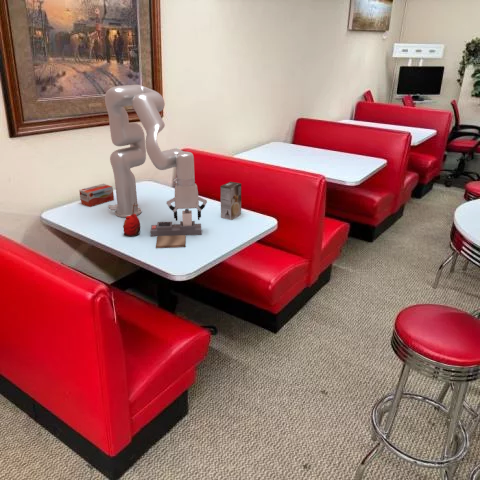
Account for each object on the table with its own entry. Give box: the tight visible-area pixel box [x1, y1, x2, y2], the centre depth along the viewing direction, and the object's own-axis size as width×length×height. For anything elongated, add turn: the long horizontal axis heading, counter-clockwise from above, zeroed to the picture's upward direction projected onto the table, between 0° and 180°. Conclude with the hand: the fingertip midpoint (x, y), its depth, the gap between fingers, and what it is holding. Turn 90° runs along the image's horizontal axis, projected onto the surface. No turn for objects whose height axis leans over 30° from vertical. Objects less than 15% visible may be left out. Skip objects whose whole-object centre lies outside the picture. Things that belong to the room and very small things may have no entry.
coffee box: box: [219, 181, 242, 221], centre depth 207 cm, size 9×6×16 cm
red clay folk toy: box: [122, 203, 141, 237], centre depth 186 cm, size 8×7×15 cm
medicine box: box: [78, 183, 115, 208], centre depth 225 cm, size 15×8×8 cm, turn 141°
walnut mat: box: [155, 235, 187, 249], centre depth 182 cm, size 12×10×1 cm
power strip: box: [149, 220, 202, 238], centre depth 191 cm, size 22×7×4 cm, turn 96°
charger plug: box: [181, 209, 193, 226], centre depth 189 cm, size 4×4×8 cm
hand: (187, 219), depth 189 cm, fingers open, 9 cm apart
